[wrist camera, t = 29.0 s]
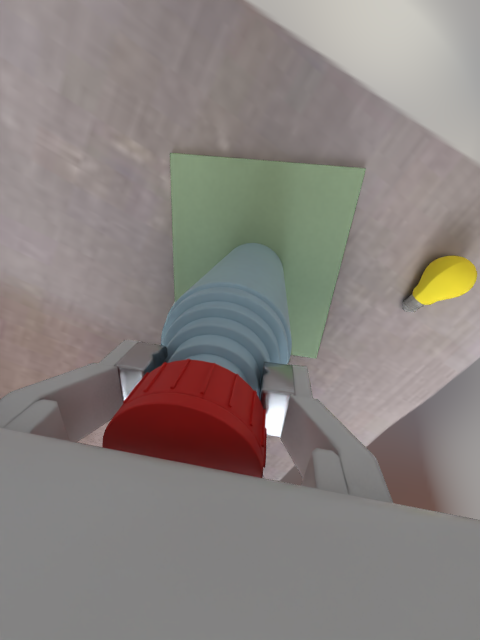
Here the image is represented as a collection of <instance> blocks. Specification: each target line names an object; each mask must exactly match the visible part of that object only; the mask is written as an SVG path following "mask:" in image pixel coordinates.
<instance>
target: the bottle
mask: <svg viewBox="0 0 480 640" xmlns="http://www.w3.org/2000/svg"><path fill="white" fill-rule="evenodd" d="M161 345H163V346H166V348H167V352H168V356H167V358H166V359H165V362H166V363H170V362H174V361H180V360H187V359H191V360H199V361H205V362H210V363H216V364H218V365H220V366H222V367H224V368H226V369H228V370H230V371H232V372H233V373H235V374H238V375H239V376H240V377H241V378H242V379H243V380H244V381H245V382H246V383H247V384H249V385H250V387H251V388H252V389H253V390H254V391H255V390H256V392H257V396H258V397H259V391H260V384H261V380H262V371H263V365H264V361H265V362H272V363H279V364H288V362H289V359H290V355H291V349H292V339H291V330H290V322H289V313H288V305H287V297H286V288H285V280H284V271H283V266H282V263H281V261H280V259H279V257H278V256H277V254H276V253H275V252H274V251H273V250H272V249H270V248H269V247H267V246H265V245H262V244H258V243H246V244H243V245H240V246H238V247H236V248H235V249H233V250H232V251H231V252H230V253H229V254H228V255H227V256H225V257H224V258H223V259H222V260H221V261H220V262H219V263H218V264H217V265H215V266H214V267H213V268H212V269H211V270H210V271H209V272H208V273H206V274H205V275H204V276H203V277H202V278H201V279H200V280H199V281H198V282H196V283H195V284H194V285H193V286H192V287H191V288H190V289H189V290H188V291H186V292H185V293H184V294H183V295H182V296H181V297H180V298H179V299H178V300H177V301H176V302H175V303H174V305H173V306H172V308H171V309H170V311H169V313H168V316H167V319H166V322H165V324H164V327H163V330H162V336H161Z"/></svg>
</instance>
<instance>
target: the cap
mask: <svg viewBox="0 0 480 640" xmlns="http://www.w3.org/2000/svg"><path fill="white" fill-rule="evenodd" d="M123 403H124V404H123V405H122V406H121V407H120V409H119V410H118V411H117V412H116V414H115V415H114V416H113V418H112V420H111V421H110V423H109V424H108V426H107V428H106V430H105V433H104V436H103V448H108V449H113V450H119V451H124V452H129V453H134V454H139V455H145V456H150V457H155V458H160V459H165V460H171V461H176V462H181V463H186V464H191V465H197V466H202V467H207V468H212V469H217V470H223V471H228V472H233V473H238V474H243V475H249V476H254V477H259V478H262V476H263V467H265V460H266V437H267V428H265V425H266V409H263V406H262V404H261V401H260V400H259V397H258V396H257V392H256V390H255V391H254V390H253V389H252V388H251V387H250V385H249V384H247V383H246V382H245V381H244V380H243V379H242V378H241V377H240V376H239V375H238V374H235V373H233V372H232V371H230V370H228V369H226V368H224V367H222V366H220V365H218V364H216V363H210V362H205V361H199V360H191V359H187V360H180V361H174V362H170V363H166V362H164V363H163V364H162V366H159V367H158V368H156V369H154V370H153V371H151V372H150V373H148V372H147V373H146V374H145V375H144V376H143V378H142V379H141V380H140V381H139V383H138V384H137V385H136V386H135V388H134V389H133V390H132V391H131V393H130V394H129V395H128V396H127V398H126V399H125V400H124V401H123Z"/></svg>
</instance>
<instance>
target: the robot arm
mask: <svg viewBox="0 0 480 640" xmlns="http://www.w3.org/2000/svg"><path fill="white" fill-rule="evenodd" d="M167 356H168V352H167V348H166V346H163V345H157V344H151V343H145V342H139V341H133V340H124V341H123V342H122V343H121V344H119V345H118V346H117V347H116V348H115V349H114V350H113V351H112V352H111V353H109V354H108V355H107V356H106V357H105V358H104V359H103V360H102V361H101V362H99V363H98V364H97V363H92V364H90V365H87V366H84V367H81V368H78V369H75V370H72V371H69V372H67V373H64V374H61V375H58V376H55V377H52V378H49V379H46V380H44V381H41V382H38V383H35V384H32V385H29V386H26V387H23V388H21V389H18V390H15V391H12V392H10V393H9V394H7V395H6V396H4V397H3V398H2V399H0V640H480V520H477V519H472V518H467V517H461V516H456V515H451V514H446V513H441V512H436V511H430V510H425V509H420V508H415V507H410V506H404V505H399V504H394V503H393V501H392V499H391V496H390V493H389V491H388V488H387V485H386V483H385V480H384V477H383V475H382V472H381V470H380V467H379V464H378V462H377V459H376V457H375V456H374V455H373V454H372V453H371V452H370V451H369V450H368V449H367V448H366V447H365V446H364V445H363V444H362V443H361V442H360V441H359V440H358V439H357V438H356V437H355V436H354V435H353V434H352V433H351V432H350V431H349V430H348V429H347V428H346V427H345V426H344V425H343V424H342V423H341V422H340V421H339V420H338V419H337V418H336V417H335V416H334V415H333V414H332V413H331V412H330V411H329V410H328V409H327V408H326V407H325V406H324V405H323V404H322V403H321V402H320V401H319V400H318V399H313V396H312V391H311V385H310V380H309V374H308V369H307V367H305V366H296V365H287V364H279V363H272V362H265V361H264V365H263V371H262V380H261V384H260V391H259V400H260V401H261V404H262V406H263V409H266V425H265V428H267V435H272V436H277V437H281V438H280V439H281V441H282V442H283V444H284V446H285V448H286V449H287V451H288V453H289V455H290V456H291V458H292V460H293V462H294V464H295V465H296V467H297V468H298V471H299V472H300V474H301V476H302V478H303V481H302V484H301V486H300V485H295V484H290V483H285V482H280V481H275V480H269V479H264V478H259V477H254V476H249V475H243V474H238V473H233V472H228V471H223V470H217V469H212V468H207V467H202V466H197V465H191V464H186V463H181V462H176V461H171V460H165V459H160V458H155V457H150V456H145V455H139V454H134V453H129V452H124V451H119V450H113V449H108V448H103V447H98V446H93V445H87V444H82V443H77V442H78V441H79V440H81V439H82V438H84V437H85V436H87V435H88V434H90V433H91V432H93V431H94V430H96V429H98V428H99V427H101V426H102V425H104V424H105V423H107V422H108V421H110V420H111V419H112V418H113V416H114V415H115V414H116V412H117V411H118V410H119V409H120V407H121V406H122V405H123V404H124V403H123V401H124V400H125V399H126V398H127V396H128V395H129V394H130V393H131V391H132V390H133V389H134V388H135V386H136V385H137V384H138V383H139V381H140V380H141V379H142V378H143V376H144V375H145V374H146V373H147V372H148V373H150V372H151V371H153V370H154V369H156V368H158V367H159V366H162V364H163V363H164V362H165V359H166V358H167Z"/></svg>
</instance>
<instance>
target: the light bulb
mask: <svg viewBox="0 0 480 640" xmlns="http://www.w3.org/2000/svg"><path fill="white" fill-rule="evenodd" d="M476 278H477V271H476V268H475V266H474V265H473V264H472V263H471V262H470V261H469V260H467V259H466V258H464V257H459V256H444V257H441V258H438V259H436V260H435V261H433V262H431V263H430V264H429V265H428V266H427V267H426V269H425V271H424V273H423V275H422V277H421V279H420V281H419V284H418V285H417V286H416V287H415V288H414V289H413V294H412V295H410V297H408V298H407V299H405V301H403V310H404V311H406V312H415V311H416V310H418V309H419V308H421V307H423V306H424V305H431V304H433V303H435V302H437V301H440V300H445V299H450V298H454V297H458V296H461V295H463V294H465V293H466V292H468V291H469V290H470V289H471V288H472V287H473V285H474V284H475V282H476Z"/></svg>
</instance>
